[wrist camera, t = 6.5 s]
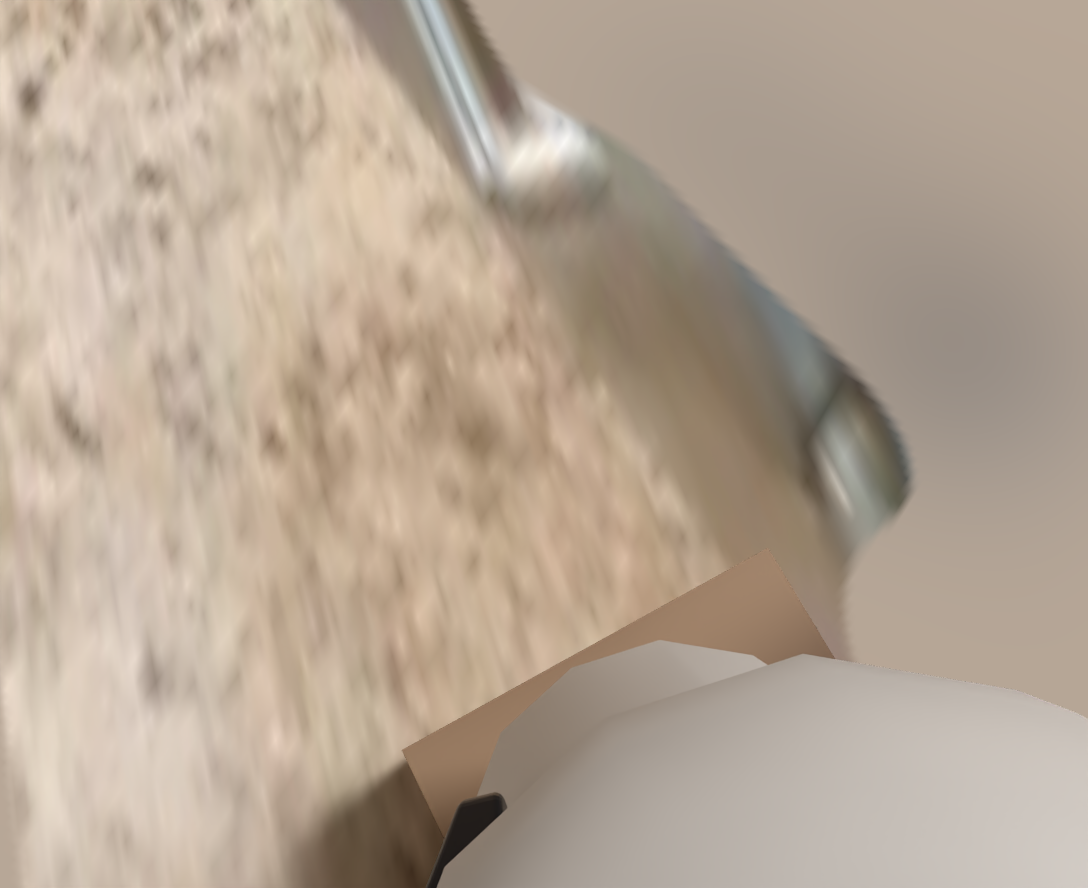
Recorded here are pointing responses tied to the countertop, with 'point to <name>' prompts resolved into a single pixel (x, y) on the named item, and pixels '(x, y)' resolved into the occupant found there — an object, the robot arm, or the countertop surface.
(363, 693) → the countertop surface
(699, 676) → the salt shaker
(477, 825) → the robot arm
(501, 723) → the walnut plinth
